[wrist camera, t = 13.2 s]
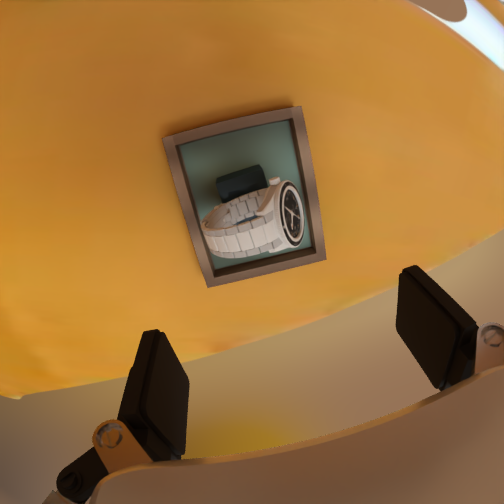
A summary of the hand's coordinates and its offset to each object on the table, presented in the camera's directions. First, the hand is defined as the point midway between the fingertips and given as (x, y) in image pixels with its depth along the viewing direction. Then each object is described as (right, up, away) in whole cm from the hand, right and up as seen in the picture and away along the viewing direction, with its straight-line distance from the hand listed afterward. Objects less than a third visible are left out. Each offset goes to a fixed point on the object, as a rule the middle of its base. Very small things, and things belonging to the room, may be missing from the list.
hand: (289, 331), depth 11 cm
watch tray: (-2, +9, +20) cm, 22 cm away
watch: (-2, +9, +19) cm, 21 cm away
